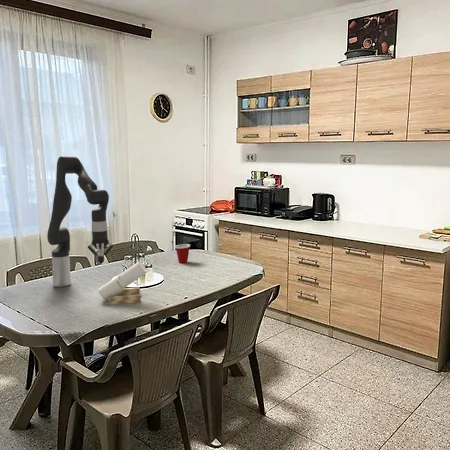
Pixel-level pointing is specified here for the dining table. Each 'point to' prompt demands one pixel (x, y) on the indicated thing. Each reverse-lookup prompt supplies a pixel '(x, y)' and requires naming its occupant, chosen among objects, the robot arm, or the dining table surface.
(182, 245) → the plastic cup
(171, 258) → the dining table surface
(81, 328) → the dining table surface
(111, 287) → the cylindrical container
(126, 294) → the rest
